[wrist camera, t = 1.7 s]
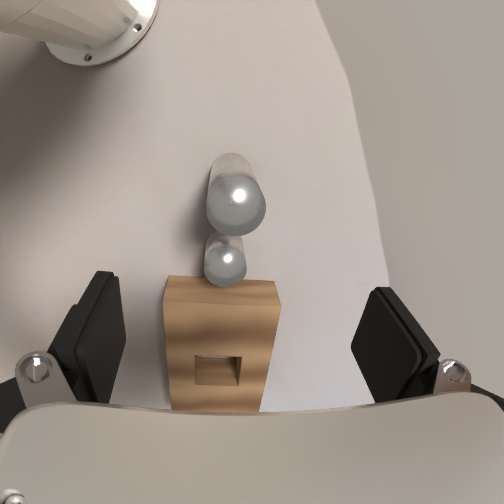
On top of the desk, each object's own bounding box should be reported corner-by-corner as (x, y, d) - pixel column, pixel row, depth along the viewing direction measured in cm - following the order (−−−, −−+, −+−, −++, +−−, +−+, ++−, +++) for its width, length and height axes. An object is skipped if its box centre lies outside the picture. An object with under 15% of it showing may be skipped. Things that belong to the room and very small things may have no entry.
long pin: (212, 151, 30) (207, 177, 20) (253, 155, 30) (269, 182, 21) (209, 191, 32) (204, 234, 22) (248, 193, 32) (261, 237, 22)
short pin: (206, 227, 33) (204, 248, 29) (244, 230, 34) (248, 251, 30) (204, 261, 35) (202, 286, 31) (241, 263, 36) (244, 288, 31)
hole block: (168, 275, 35) (162, 300, 31) (274, 281, 37) (281, 306, 33) (174, 388, 44) (172, 415, 40) (254, 391, 46) (257, 417, 41)
